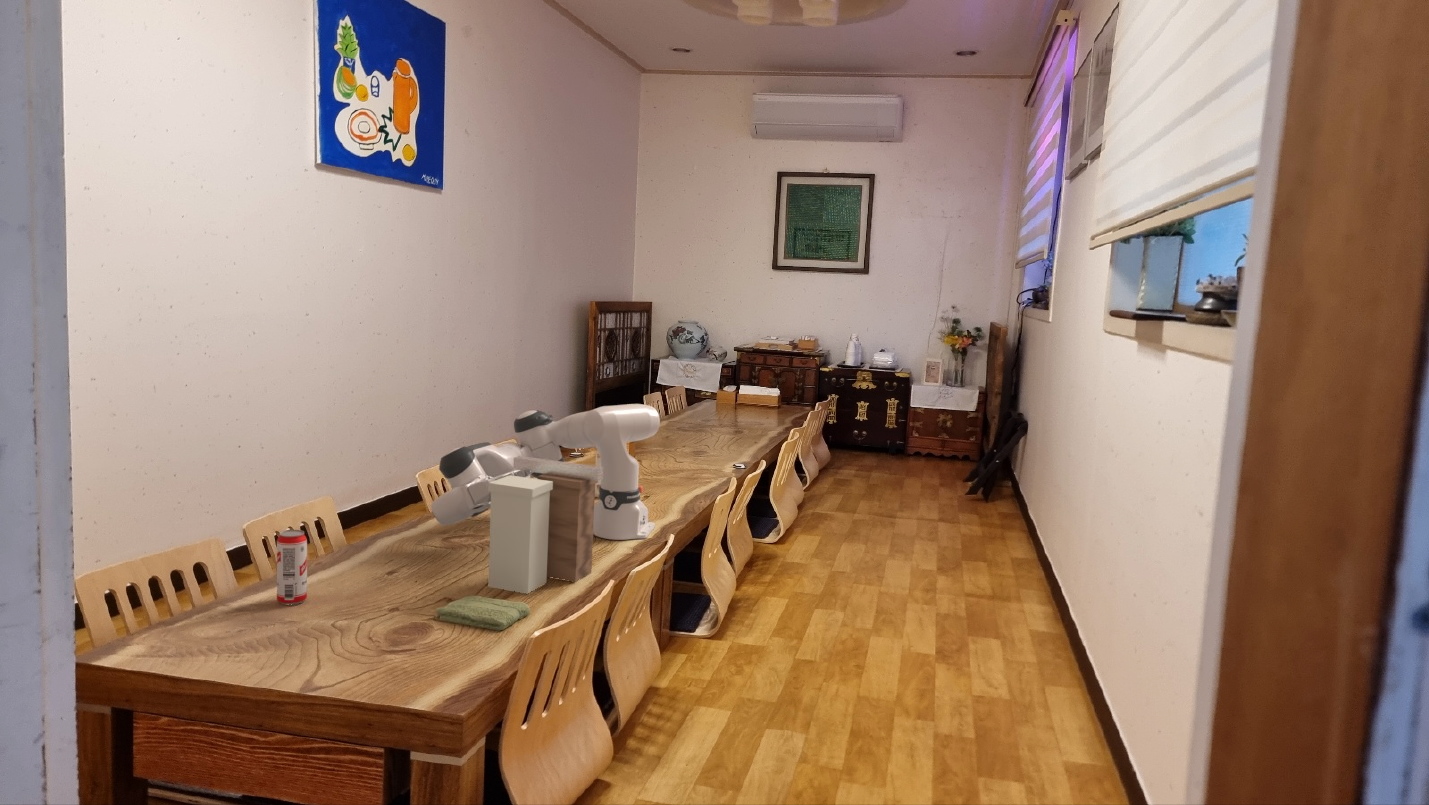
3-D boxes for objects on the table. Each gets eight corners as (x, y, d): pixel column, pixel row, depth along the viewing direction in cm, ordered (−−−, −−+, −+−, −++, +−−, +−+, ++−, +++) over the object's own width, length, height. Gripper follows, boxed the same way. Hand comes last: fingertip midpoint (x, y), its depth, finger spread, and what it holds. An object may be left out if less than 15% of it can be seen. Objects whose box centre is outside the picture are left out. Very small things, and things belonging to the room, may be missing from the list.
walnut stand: (552, 565, 253) (556, 469, 249) (593, 572, 249) (598, 474, 246) (533, 575, 244) (537, 476, 240) (576, 583, 240) (580, 482, 236)
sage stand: (507, 575, 243) (510, 475, 239) (549, 583, 239) (552, 481, 235) (485, 587, 233) (488, 482, 230) (528, 595, 229) (532, 489, 226)
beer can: (274, 607, 212) (274, 537, 210) (279, 597, 218) (279, 529, 216) (304, 605, 214) (305, 536, 212) (308, 596, 220) (308, 528, 218)
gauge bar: (519, 467, 249) (519, 455, 249) (602, 478, 241) (603, 467, 241) (513, 469, 246) (513, 457, 246) (597, 481, 239) (598, 469, 238)
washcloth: (466, 602, 223) (466, 589, 223) (532, 615, 217) (533, 602, 217) (432, 621, 211) (432, 607, 210) (501, 635, 205) (502, 621, 205)
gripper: (509, 495, 261) (549, 475, 256) (466, 511, 241) (508, 490, 237) (499, 473, 261) (539, 454, 256) (456, 488, 242) (498, 467, 237)
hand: (524, 471), depth 246 cm, fingers open, 8 cm apart
